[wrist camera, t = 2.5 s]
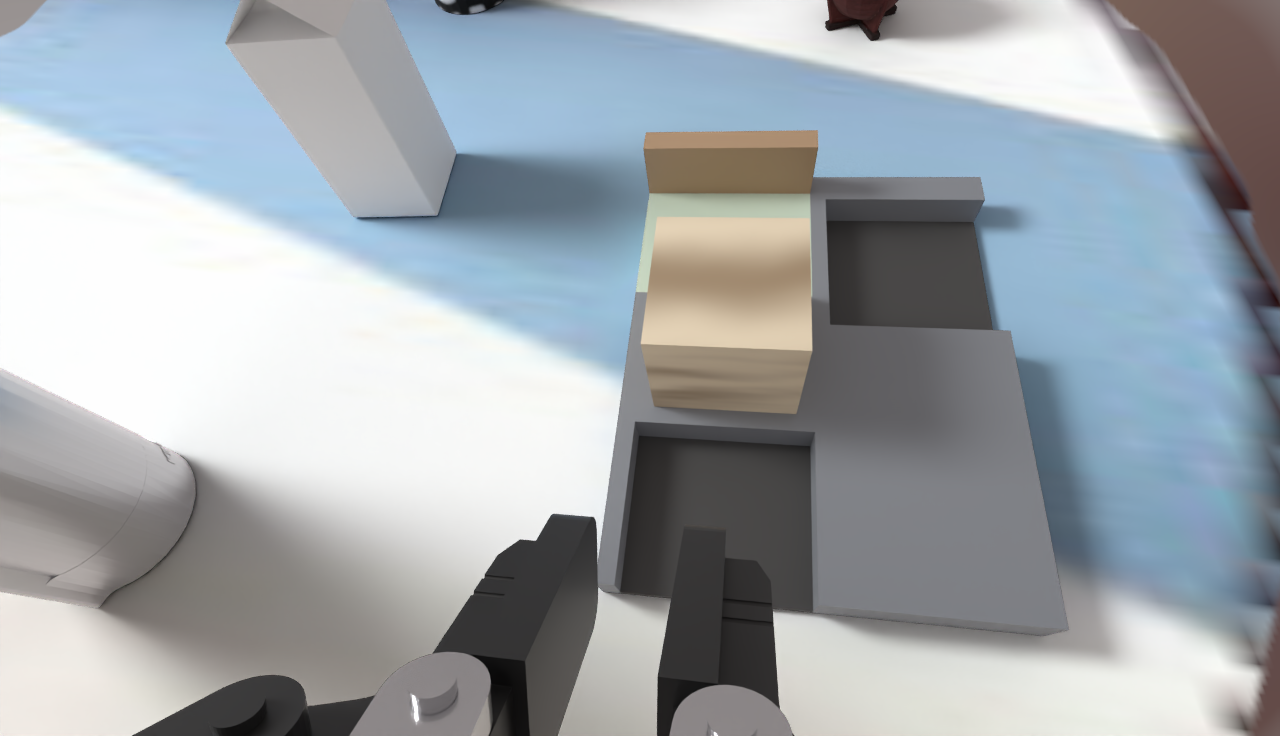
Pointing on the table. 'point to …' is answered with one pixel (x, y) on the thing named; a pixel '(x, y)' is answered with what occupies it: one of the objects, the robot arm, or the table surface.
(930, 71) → the table surface
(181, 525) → the robot arm
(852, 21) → the mate gourd
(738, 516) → the trap deck
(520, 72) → the table surface
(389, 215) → the milk carton
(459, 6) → the white-spotted black cylinder
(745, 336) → the beech block
